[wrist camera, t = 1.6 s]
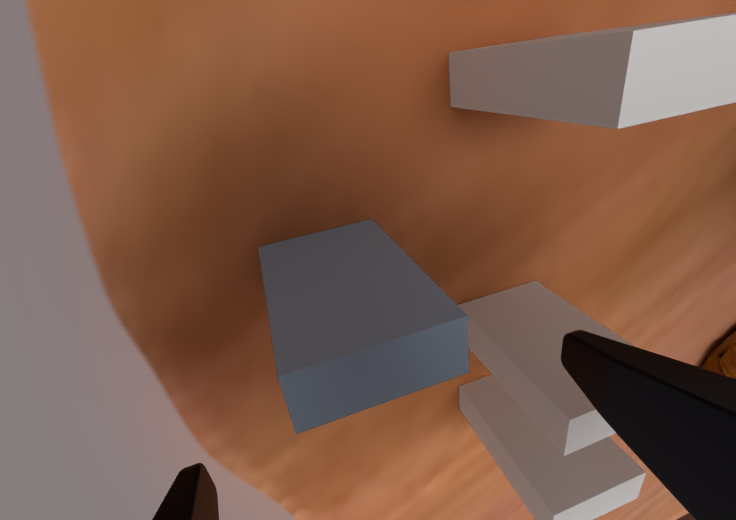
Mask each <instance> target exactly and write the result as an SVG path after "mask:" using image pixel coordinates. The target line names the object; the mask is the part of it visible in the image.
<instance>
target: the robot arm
mask: <svg viewBox="0 0 736 520" xmlns="http://www.w3.org/2000/svg"><path fill="white" fill-rule="evenodd" d="M561 362H562V365H563V367H564V368H565V370H566V371H567V372H568V373H569V375H570V376H571V377H572V379H573V380H574V381H575V383H576V384H577V385H578V387H579V388H580V389H581V390H582V392H583V393H584V394H585V396H586V397H587V398H588V400H589V401H590V402H591V404H592V405H593V406H594V408H595V409H596V410H597V411H598V413H599V414H600V415H601V416H602V418H603V419H604V420H605V421H606V422H607V423H608V424H609V426H610V427H611V428H612V429H613V430H614V431H615V432H616V433H617V434H618V435H619V437H620V438H621V439H622V440H623V441H624V442H625V443H626V444H627V445H628V446H629V447H630V449H631V450H632V451H633V452H634V453H635V454H636V455H637V456H638V457H639V458H640V459H641V461H642V462H643V463H644V464H645V465H646V466H647V467H648V468H649V469H650V470H651V471H652V473H653V474H654V475H655V476H656V477H657V478H658V479H659V480H660V481H661V482H662V483H663V485H664V486H665V487H666V488H667V489H668V490H669V491H670V492H671V493H672V494H673V496H674V497H675V498H676V499H677V500H678V501H679V502H680V503H681V504H682V505H683V506H684V508H685V509H686V510H687V511H688V512H689V513H690V514H691V515H692V516H693V517H694V518H695V520H736V379H734V378H731V377H728V376H725V375H722V374H719V373H716V372H712V371H709V370H706V369H703V368H700V367H697V366H694V365H690V364H687V363H684V362H681V361H678V360H675V359H672V358H668V357H665V356H662V355H659V354H656V353H653V352H650V351H646V350H643V349H640V348H637V347H634V346H631V345H628V344H624V343H621V342H618V341H615V340H612V339H609V338H606V337H602V336H599V335H596V334H593V333H590V332H587V331H583V330H575V331H572V332H570V333H567V334H565V335H564V337H563V342H562V350H561ZM217 499H218V498H217V491H216V487H215V485H214V483H213V481H212V479H211V477H210V475H209V473H208V472H207V469H206V467H205V466H204V465H203V464H202V463H197V464H195V465H192V466H189V467H186V468H184V469H183V470H181V471H180V472H179V474H178V475H177V477H176V479H175V481H174V482H173V484H172V486H171V488H170V489H169V491H168V493H167V495H166V496H165V498H164V500H163V502H162V504H161V505H160V507H159V509H158V511H157V512H156V514H155V516H154V518H153V519H152V520H219V514H218V500H217Z"/></svg>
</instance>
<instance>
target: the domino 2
mask: <svg viewBox="0 0 736 520" xmlns="http://www.w3.org/2000/svg"><path fill="white" fill-rule="evenodd" d="M449 78H450V107H455V108H462V109H470V110H477V111H485V112H493V113H500V114H508V115H515V116H523V117H530V118H538V119H545V120H553V121H561V122H568V123H576V124H583V125H591V126H598V127H606V128H613V129H620V128H624V127H629V126H633V125H637V124H642V123H646V122H651V121H655V120H660V119H664V118H668V117H673V116H677V115H682V114H686V113H690V112H695V111H699V110H704V109H708V108H712V107H717V106H721V105H726V104H730V103H734V102H736V12H735V13H727V14H720V15H712V16H704V17H697V18H689V19H681V20H673V21H666V22H658V23H650V24H643V25H635V26H627V27H620V28H612V29H604V30H597V31H589V32H581V33H574V34H566V35H558V36H552V37H545V38H539V39H532V40H526V41H519V42H513V43H507V44H500V45H494V46H487V47H481V48H474V49H468V50H462V51H455V52H449Z"/></svg>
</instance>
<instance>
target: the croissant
mask: <svg viewBox="0 0 736 520" xmlns="http://www.w3.org/2000/svg"><path fill="white" fill-rule="evenodd" d="M701 368H703V369H706V370H709V371H712V372H716V373H719V374H722V375H725V376H728V377H731V378H734V379H736V330H735V331H734V332H732V333H731V334H730V335H729V336H728V337H727V338H726V339H725V340H723V342H722V343H721V344H720V345H719V346H718V347H716V348H715V349H714V350H713V351H711V352H710V354H709V356H708V357H707V359H706V361H705V363H704V364H703V366H702V367H701Z"/></svg>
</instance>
